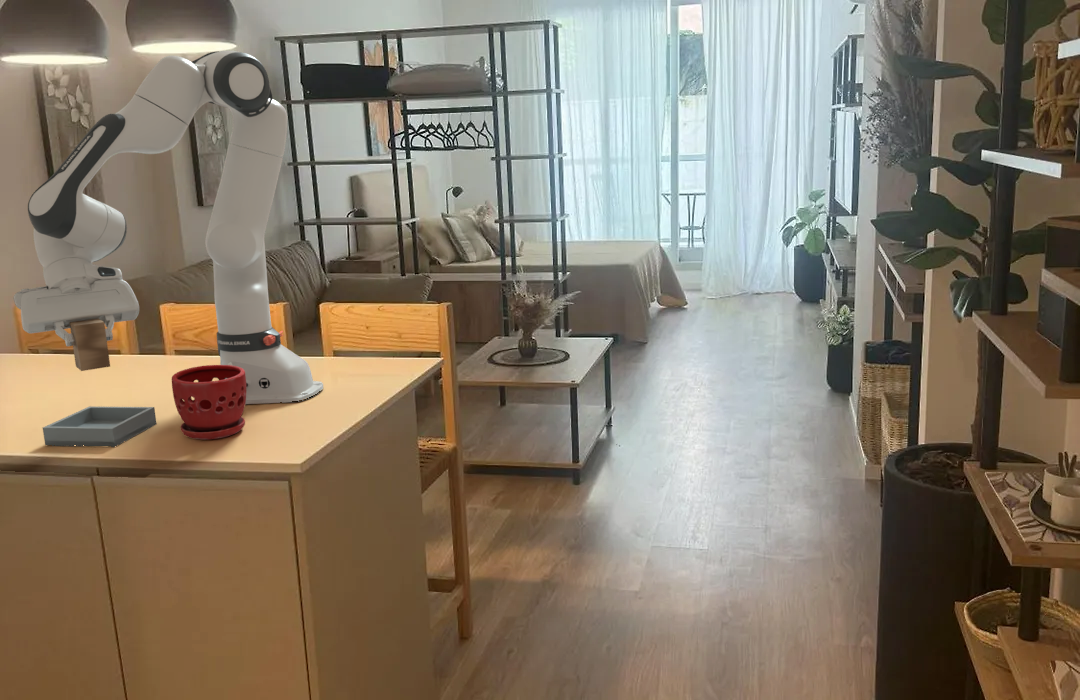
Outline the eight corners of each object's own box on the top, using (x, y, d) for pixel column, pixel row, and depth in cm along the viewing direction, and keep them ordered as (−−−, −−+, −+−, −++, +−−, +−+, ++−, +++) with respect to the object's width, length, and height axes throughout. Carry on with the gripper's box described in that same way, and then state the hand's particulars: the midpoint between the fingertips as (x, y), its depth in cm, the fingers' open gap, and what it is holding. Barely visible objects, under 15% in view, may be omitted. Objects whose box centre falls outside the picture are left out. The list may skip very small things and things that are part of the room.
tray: (156, 424, 185) (154, 407, 185) (114, 447, 172) (112, 428, 171) (91, 423, 187) (89, 406, 187) (45, 445, 174) (42, 427, 173)
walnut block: (104, 362, 180) (98, 318, 178) (110, 366, 176) (104, 322, 174) (75, 366, 177) (69, 322, 175) (81, 371, 173) (74, 325, 171)
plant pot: (164, 443, 173) (156, 380, 170) (201, 422, 186) (194, 363, 183) (230, 445, 171) (222, 381, 168) (263, 423, 183) (257, 364, 181)
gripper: (11, 279, 173) (27, 340, 167) (128, 268, 184) (148, 323, 179) (11, 301, 177) (27, 360, 171) (126, 288, 189) (145, 343, 183)
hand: (90, 341), depth 175 cm, fingers closed on walnut block, 5 cm apart
